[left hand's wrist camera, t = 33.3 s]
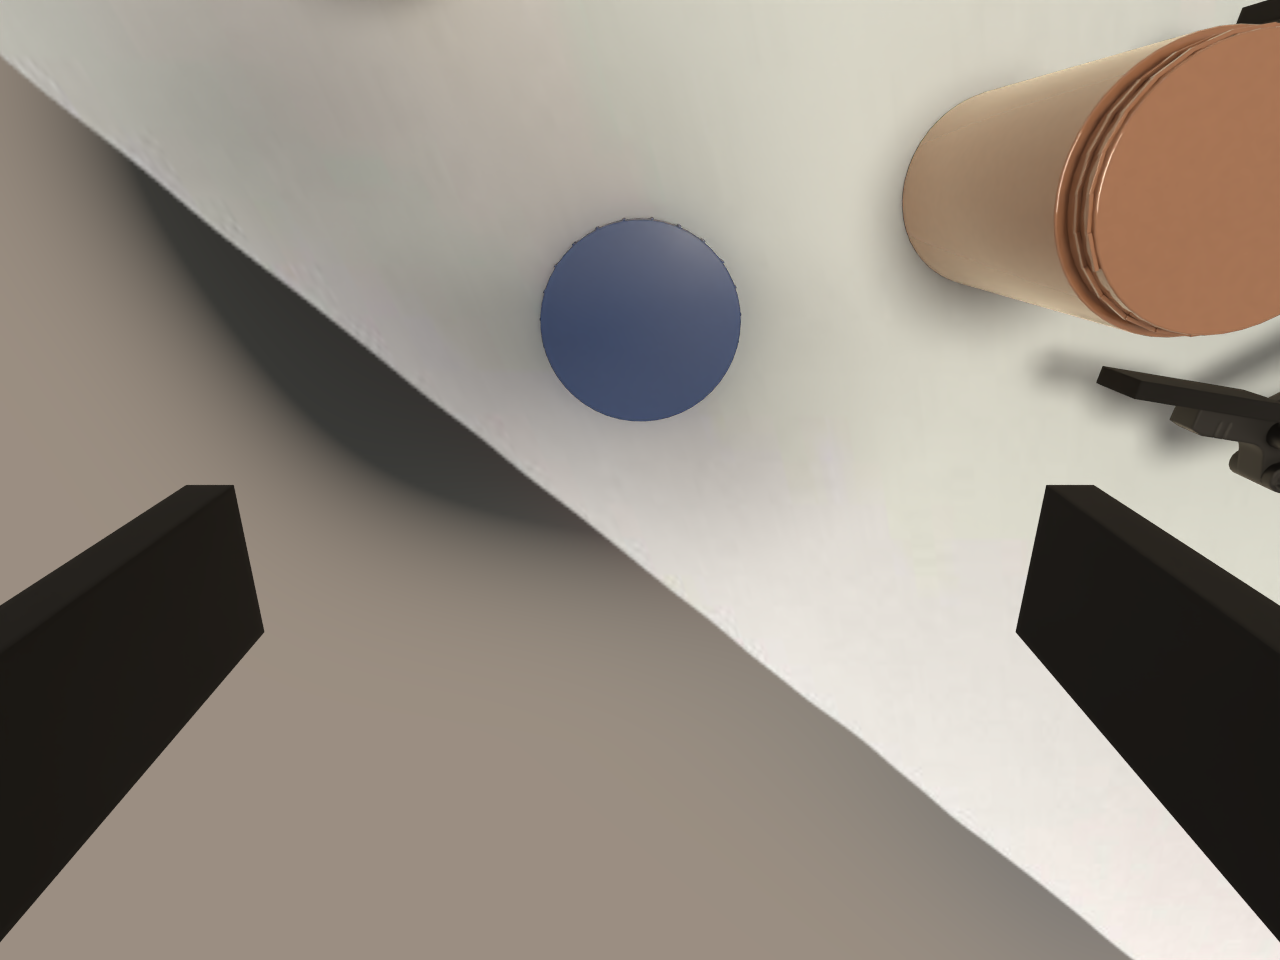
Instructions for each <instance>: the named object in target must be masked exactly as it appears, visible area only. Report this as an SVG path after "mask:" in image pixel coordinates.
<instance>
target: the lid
mask: <svg viewBox="0 0 1280 960" xmlns="http://www.w3.org/2000/svg"><path fill="white" fill-rule="evenodd" d="M595 229H596V230H594V231H593V232H591V233H589V234H588V235H586V236H585V237H584V238H582V239H581V240H580V241H578V242H574V243H573V244H572V245H573V247H572V248H571V249H570V250H569V251H568V252H567V253H566V254H565V255H564V256H563V258H562V259H561V260H560V262H559V263H557V264H556V265H555V266H554V267H555V269H554V271H553V273H552V275H551V277H550V279H549V281H548V284H547V286H546V289H545V290H544V292H543V293H544V297H543V301H542V307H541V318H540V321H541V334H542V340H543V346H544V348H545V352H546V355H547V357H548V360H549V362H550V364H551V367H552V368H553V370H554V372H555V373H556V375H557V377H558V378H559V380H560V381H561V382H562V383H563V385H564V386H565V387H566V388H567V389H568V390H569V391H570V392H571V393H572V394H573V395H574V396H575V397H576V398H577V399H579V400H580V401H581V402H582V403H584V404H585V405H587V406H588V407H590V408H592V409H594V410H595V411H597V412H600V413H602V414H605V415H607V416H610V417H614V418H617V419H622V420H628V421H653V420H659V419H664V418H668V417H671V416H674V415H676V414H679V413H682V412H683V411H685V410H687V409H689V408H691V407H693V406H694V405H696V404H697V403H699V402H700V401H701V400H703V399H704V398H705V397H706V396H707V395H708V394H709V393H711V392H712V391H713V389H714V388H715V387H716V386H717V385H718V384H719V382H720V381H721V380H722V378H723V377H724V375H725V374H726V372H727V370H728V368H729V366H730V364H731V362H732V360H733V358H734V355H735V352H736V349H737V345H738V342H739V335H740V323H741V319H740V316H741V313H740V306H739V301H738V296H737V292H736V289H735V288H736V286H735V285H734V283H733V281H732V279H731V277H730V275H729V273H728V271H727V269H726V267H725V266H724V264H723V263H724V261H723V260H722V259H720V258H719V257H718V256H717V255H716V254H715V253H714V252H713V251H712V249H711V248H710V247H708V246H707V245H706V244H705V243H704V242H705V240H703V239H702V238H701V240H700V239H699V238H698V237H696V236H695V235H693V234H692V233H690V232H689V231H687V230H685V229H683V228H681V225H679V224H678V225H674V224H671V223H668V222H664V221H660V220H654V218H653V217H651V219H640V218H636V219H627V220H626V219H625V218H623V220H621V221H617V222H613V223H610V224H607V225H605V226H602V227H600V228H599V226H598V227H596V228H595Z"/></svg>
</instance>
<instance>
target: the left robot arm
mask: <svg viewBox="0 0 1280 960" xmlns="http://www.w3.org/2000/svg"><path fill="white" fill-rule="evenodd" d="M263 633H264V628H263V623H262V618H261V614H260V609H259V604H258V599H257V594H256V590H255V585H254V580H253V575H252V571H251V566H250V561H249V556H248V551H247V547H246V542H245V537H244V532H243V527H242V523H241V518H240V513H239V508H238V504H237V499H236V494H235V489H234V485H186V486H184V487H183V488H181V489H180V490H178V491H176V492H175V493H173V494H172V495H170V496H169V497H167V498H166V499H164V500H163V501H161V502H159V503H158V504H156V505H155V506H153V507H152V508H150V509H149V510H147V511H146V512H144V513H142V514H141V515H139V516H138V517H136V518H135V519H133V520H132V521H130V522H129V523H127V524H126V525H124V526H122V527H121V528H119V529H118V530H116V531H115V532H113V533H112V534H110V535H108V536H107V537H105V538H104V539H102V540H101V541H99V542H98V543H96V544H95V545H93V546H92V547H90V548H88V549H87V550H85V551H84V552H82V553H81V554H79V555H78V556H76V557H75V558H73V559H72V560H70V561H68V562H67V563H65V564H64V565H62V566H61V567H59V568H58V569H56V570H54V571H53V572H51V573H50V574H48V575H47V576H45V577H44V578H42V579H41V580H39V581H38V582H36V583H34V584H33V585H31V586H30V587H28V588H27V589H25V590H24V591H22V592H21V593H19V594H17V595H16V596H14V597H13V598H11V599H10V600H8V601H7V602H5V603H4V604H2V605H0V942H1V941H2V939H3V938H4V937H5V936H6V935H7V933H8V932H9V931H10V930H11V929H12V928H13V926H14V925H15V924H16V923H17V922H18V920H19V919H20V918H21V917H22V916H23V915H24V914H25V912H26V911H27V910H28V909H29V908H30V906H31V905H32V904H33V903H34V902H35V901H36V899H37V898H38V897H39V896H40V895H41V893H42V892H43V891H44V890H45V889H46V888H47V886H48V885H49V884H50V883H51V882H52V881H53V879H54V878H55V877H56V876H57V875H58V874H59V872H60V871H61V870H62V869H63V868H64V867H65V865H66V864H67V863H68V862H69V861H70V860H71V858H72V857H73V856H74V855H75V854H76V852H77V851H78V850H79V849H80V848H81V847H82V845H83V844H84V843H85V842H86V841H87V840H88V838H89V837H90V836H91V835H92V834H93V833H94V831H95V830H96V829H97V828H98V827H99V825H100V824H101V823H102V822H103V821H104V820H105V818H106V817H107V816H108V815H109V814H110V813H111V811H112V810H113V809H114V808H115V807H116V805H117V804H118V803H119V802H120V801H121V800H122V798H123V797H124V796H125V795H126V794H127V793H128V791H129V790H130V789H131V788H132V787H133V785H134V784H135V783H136V782H137V781H138V780H139V779H140V777H141V776H142V775H143V774H144V773H145V771H146V770H147V769H148V768H149V767H150V766H151V764H152V763H153V762H154V761H155V760H156V759H157V757H158V756H159V755H160V754H161V753H162V751H163V750H164V749H165V748H166V747H167V746H168V744H169V743H170V742H171V741H172V740H173V739H174V737H175V736H176V735H177V734H178V733H179V732H180V730H181V729H182V728H183V727H184V726H185V725H186V723H187V722H188V721H189V720H190V719H191V718H192V716H193V715H194V714H195V713H196V712H197V710H198V709H199V708H200V707H201V706H202V705H203V703H204V702H205V701H206V700H207V699H208V698H209V696H210V695H211V694H212V693H213V692H214V691H215V689H216V688H217V687H218V686H219V685H220V683H221V682H222V681H223V680H224V679H225V678H226V676H227V675H228V674H229V673H230V672H231V671H232V669H233V668H234V667H235V666H236V665H237V664H238V662H239V661H240V660H241V659H242V658H243V656H244V655H245V654H246V653H247V652H248V651H249V649H250V648H251V647H252V646H253V645H254V644H255V642H256V641H257V640H258V639H259V638H260V637H261V635H262V634H263ZM1016 633H1017V634H1018V635H1019V637H1020V638H1021V639H1022V640H1023V641H1024V642H1025V644H1026V645H1027V646H1028V647H1029V648H1030V649H1031V651H1032V652H1033V653H1034V654H1035V655H1036V656H1037V658H1038V659H1039V660H1040V661H1041V662H1042V664H1043V665H1044V666H1045V667H1046V668H1047V669H1048V671H1049V672H1050V673H1051V674H1052V675H1053V676H1054V678H1055V679H1056V680H1057V681H1058V682H1059V683H1060V685H1061V686H1062V687H1063V688H1064V689H1065V691H1066V692H1067V693H1068V694H1069V695H1070V696H1071V698H1072V699H1073V700H1074V701H1075V702H1076V703H1077V705H1078V706H1079V707H1080V708H1081V709H1082V710H1083V712H1084V713H1085V714H1086V715H1087V716H1088V718H1089V719H1090V720H1091V721H1092V722H1093V723H1094V725H1095V726H1096V727H1097V728H1098V729H1099V730H1100V732H1101V733H1102V734H1103V735H1104V736H1105V737H1106V739H1107V740H1108V741H1109V742H1110V743H1111V744H1112V746H1113V747H1114V748H1115V749H1116V750H1117V752H1118V753H1119V754H1120V755H1121V756H1122V757H1123V759H1124V760H1125V761H1126V762H1127V763H1128V764H1129V766H1130V767H1131V768H1132V769H1133V770H1134V771H1135V773H1136V774H1137V775H1138V776H1139V777H1140V779H1141V780H1142V781H1143V782H1144V783H1145V784H1146V786H1147V787H1148V788H1149V789H1150V790H1151V791H1152V793H1153V794H1154V795H1155V796H1156V797H1157V798H1158V800H1159V801H1160V802H1161V803H1162V804H1163V806H1164V807H1165V808H1166V809H1167V810H1168V811H1169V813H1170V814H1171V815H1172V816H1173V817H1174V818H1175V820H1176V821H1177V822H1178V823H1179V824H1180V825H1181V827H1182V828H1183V829H1184V830H1185V831H1186V833H1187V834H1188V835H1189V836H1190V837H1191V838H1192V840H1193V841H1194V842H1195V843H1196V844H1197V845H1198V847H1199V848H1200V849H1201V850H1202V851H1203V852H1204V854H1205V855H1206V856H1207V857H1208V858H1209V860H1210V861H1211V862H1212V863H1213V864H1214V865H1215V867H1216V868H1217V869H1218V870H1219V871H1220V872H1221V874H1222V875H1223V876H1224V877H1225V878H1226V879H1227V881H1228V882H1229V883H1230V884H1231V885H1232V887H1233V888H1234V889H1235V890H1236V891H1237V892H1238V894H1239V895H1240V896H1241V897H1242V898H1243V899H1244V901H1245V902H1246V903H1247V904H1248V905H1249V906H1250V908H1251V909H1252V910H1253V911H1254V912H1255V914H1256V915H1257V916H1258V917H1259V918H1260V919H1261V921H1262V922H1263V923H1264V924H1265V925H1266V926H1267V928H1268V929H1269V930H1270V931H1271V932H1272V933H1273V935H1274V936H1275V937H1276V938H1277V939H1278V941H1279V942H1280V605H1278V604H1276V603H1275V602H1273V601H1272V600H1270V599H1269V598H1267V597H1266V596H1264V595H1263V594H1261V593H1259V592H1258V591H1256V590H1255V589H1253V588H1252V587H1250V586H1249V585H1247V584H1246V583H1244V582H1243V581H1241V580H1239V579H1238V578H1236V577H1235V576H1233V575H1232V574H1230V573H1229V572H1227V571H1226V570H1224V569H1222V568H1221V567H1219V566H1218V565H1216V564H1215V563H1213V562H1212V561H1210V560H1209V559H1207V558H1205V557H1204V556H1202V555H1201V554H1199V553H1198V552H1196V551H1195V550H1193V549H1192V548H1190V547H1189V546H1187V545H1185V544H1184V543H1182V542H1181V541H1179V540H1178V539H1176V538H1175V537H1173V536H1172V535H1170V534H1168V533H1167V532H1165V531H1164V530H1162V529H1161V528H1159V527H1158V526H1156V525H1155V524H1153V523H1151V522H1150V521H1148V520H1147V519H1145V518H1144V517H1142V516H1141V515H1139V514H1138V513H1136V512H1134V511H1133V510H1131V509H1130V508H1128V507H1127V506H1125V505H1124V504H1122V503H1121V502H1119V501H1118V500H1116V499H1114V498H1113V497H1111V496H1110V495H1108V494H1107V493H1105V492H1104V491H1102V490H1101V489H1099V488H1097V487H1096V486H1094V485H1046V489H1045V494H1044V499H1043V503H1042V508H1041V513H1040V518H1039V523H1038V527H1037V532H1036V537H1035V542H1034V547H1033V551H1032V556H1031V561H1030V566H1029V571H1028V575H1027V580H1026V585H1025V590H1024V594H1023V599H1022V604H1021V609H1020V614H1019V618H1018V623H1017V628H1016Z"/></svg>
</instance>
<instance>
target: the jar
mask: <svg viewBox="0 0 1280 960" xmlns="http://www.w3.org/2000/svg"><path fill="white" fill-rule="evenodd" d="M903 217H904V222H905V227H906V231H907V234H908V236H909V239H910V242H911V243H912V245H913V247H914V249H915V251H916V252H917V254H918V255H919V256H920V258H921V259H922V260H923V261H924V262H925V263H926V264H927V265H928V266H929V267H930V268H931V269H932V270H934V271H935V272H937V273H938V274H939V275H941V276H943V277H945V278H947V279H949V280H952V281H955V282H957V283H961V284H964V285H967V286H971V287H974V288H978V289H981V290H985V291H988V292H992V293H995V294H999V295H1002V296H1006V297H1009V298H1013V299H1016V300H1019V301H1023V302H1026V303H1030V304H1033V305H1037V306H1040V307H1044V308H1047V309H1051V310H1054V311H1058V312H1061V313H1065V314H1068V315H1072V316H1075V317H1078V318H1082V319H1085V320H1089V321H1092V322H1096V323H1099V324H1103V325H1106V326H1110V327H1113V328H1117V329H1120V330H1124V331H1127V332H1130V333H1134V334H1139V335H1145V336H1150V337H1179V336H1189V337H1193V336H1200V335H1216V334H1224V333H1229V332H1234V331H1239V330H1243V329H1246V328H1249V327H1252V326H1255V325H1258V324H1261V323H1263V322H1265V321H1267V320H1269V319H1272V318H1274V317H1276V316H1278V315H1280V23H1277V22H1273V23H1267V24H1261V25H1257V24H1232V25H1222V26H1216V27H1212V28H1208V29H1204V30H1200V31H1196V32H1193V33H1189V34H1186V35H1182V36H1179V37H1175V38H1172V39H1168V40H1165V41H1161V42H1158V43H1154V44H1151V45H1147V46H1144V47H1140V48H1137V49H1133V50H1130V51H1126V52H1123V53H1119V54H1116V55H1113V56H1109V57H1106V58H1102V59H1099V60H1095V61H1092V62H1088V63H1085V64H1081V65H1078V66H1074V67H1071V68H1067V69H1064V70H1060V71H1057V72H1053V73H1050V74H1046V75H1043V76H1039V77H1036V78H1032V79H1029V80H1025V81H1022V82H1018V83H1015V84H1011V85H1008V86H1004V87H1001V88H998V89H994V90H991V91H987V92H984V93H981V94H979V95H976V96H973V97H971V98H969V99H967V100H965V101H964V102H962V103H960V104H958V105H957V106H956V107H954V108H953V109H951V110H950V111H948V112H947V113H946V114H945V115H944V116H943V117H942V118H941V119H939V120H938V121H937V122H936V124H935V125H934V126H933V127H932V128H931V129H930V130H929V132H928V133H927V134H926V136H925V137H924V139H923V140H922V141H921V143H920V145H919V147H918V148H917V150H916V152H915V154H914V156H913V158H912V161H911V163H910V166H909V168H908V172H907V175H906V179H905V184H904V190H903Z"/></svg>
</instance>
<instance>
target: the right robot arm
mask: <svg viewBox="0 0 1280 960" xmlns="http://www.w3.org/2000/svg"><path fill="white" fill-rule="evenodd" d="M1273 22H1277V23H1280V0H1267V1H1263V2H1260V3H1257V4H1253V5H1250V6H1247V7H1244V8H1242V10H1241V13H1240V16H1239V18H1238V21H1237V23H1236V24H1257V25H1261V24H1267V23H1273ZM1096 383H1098V384H1100V385H1103V386H1105V387H1107V388H1110V389H1112V390H1115V391H1117V392H1119V393H1122V394H1124V395H1126V396H1129V397H1131V398H1134V399H1139V400H1145V401H1151V402H1157V403H1163V404H1169V405H1175V408H1174V411H1173V413H1172V415H1171V418H1170V420H1171V421H1172V422H1174V423H1175V424H1177V425H1178V426H1180V427H1182V428H1185V429H1187V430H1189V431H1192V432H1194V433H1196V434H1199V435H1201V436H1207V437H1214V438H1219V439H1225V440H1231V441H1237V442H1238V443H1239V451H1237V452H1236V453H1235V454H1233V455H1232V457H1231V459H1230V461H1229V467H1230V469H1231V470H1232V471H1233V472H1234V473H1236V474H1239V475H1241V476H1243V477H1245V478H1247V479H1249V480H1251V481H1253V482H1255V483H1258V484H1260V485H1262V486H1264V487H1266V488H1268V489H1270V490H1272V491H1274V492H1278V493H1280V392H1279V393H1277V394H1275V395H1273V396H1271V397H1269V398H1267V397H1264V396H1261V395H1258V394H1255V393H1252V392H1249V391H1246V390H1242V389H1236V388H1230V387H1224V386H1218V385H1212V384H1206V383H1200V382H1194V381H1188V380H1182V379H1176V378H1170V377H1164V376H1158V375H1152V374H1147V373H1141V372H1135V371H1129V370H1123V369H1117V368H1111V367H1105V366H1103V367H1102V369H1101V372H1100V375H1099V377H1098V380H1097V382H1096Z"/></svg>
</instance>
